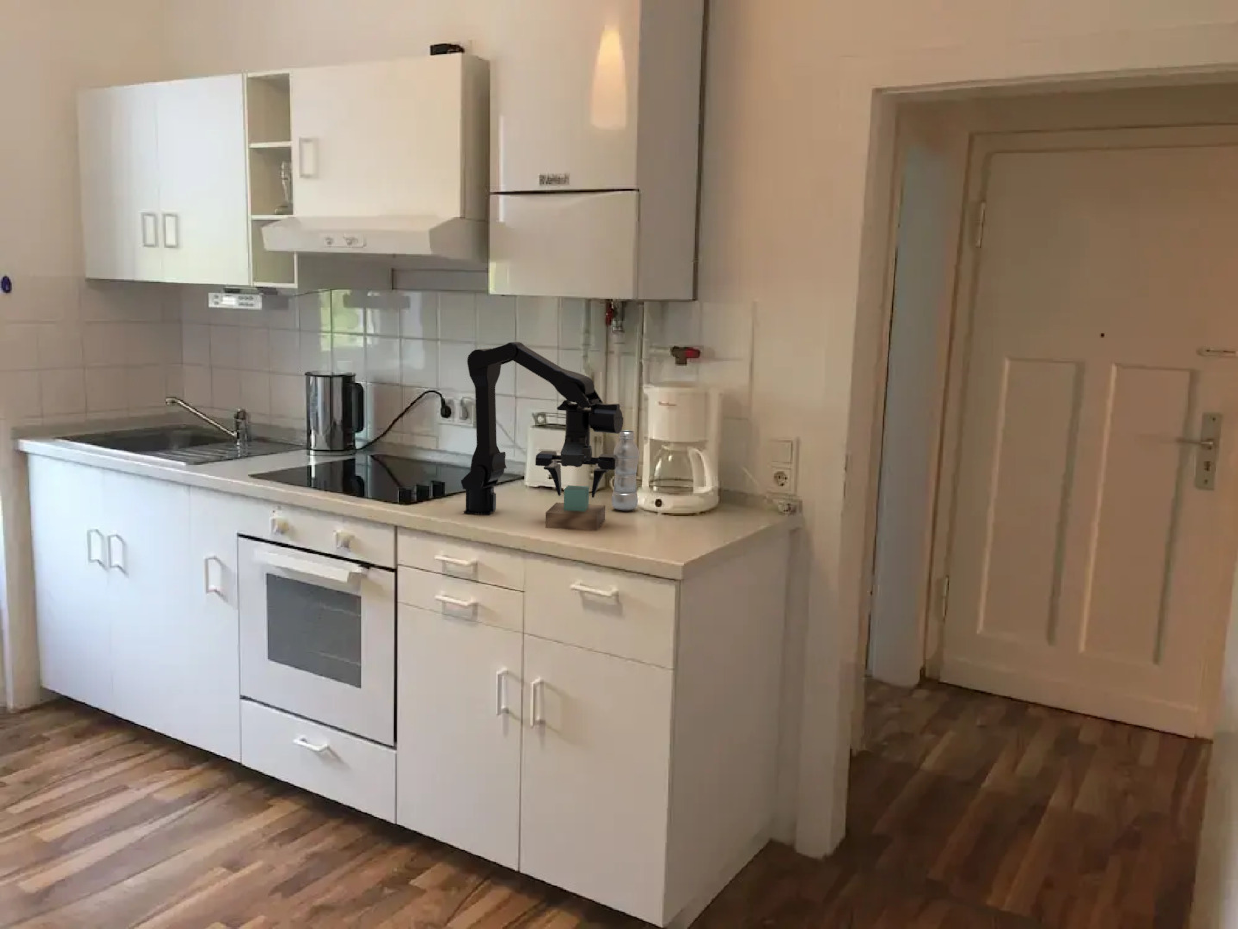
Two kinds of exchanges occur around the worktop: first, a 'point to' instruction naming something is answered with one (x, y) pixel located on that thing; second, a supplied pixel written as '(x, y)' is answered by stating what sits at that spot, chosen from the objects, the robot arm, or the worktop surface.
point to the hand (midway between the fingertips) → (576, 496)
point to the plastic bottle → (625, 472)
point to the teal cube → (576, 498)
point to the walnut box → (575, 518)
